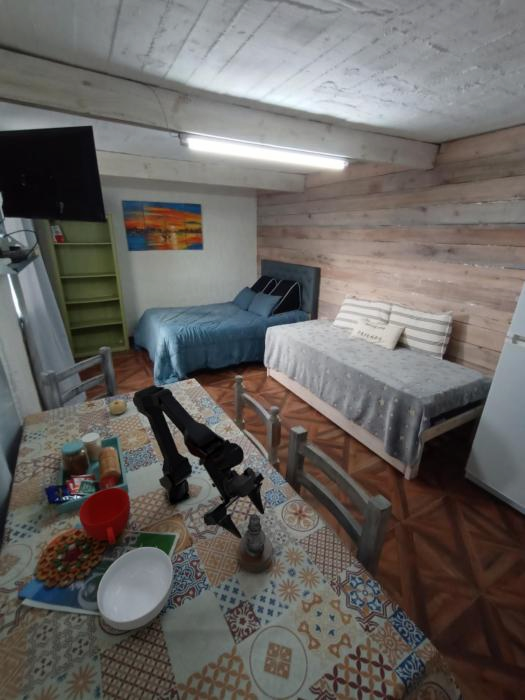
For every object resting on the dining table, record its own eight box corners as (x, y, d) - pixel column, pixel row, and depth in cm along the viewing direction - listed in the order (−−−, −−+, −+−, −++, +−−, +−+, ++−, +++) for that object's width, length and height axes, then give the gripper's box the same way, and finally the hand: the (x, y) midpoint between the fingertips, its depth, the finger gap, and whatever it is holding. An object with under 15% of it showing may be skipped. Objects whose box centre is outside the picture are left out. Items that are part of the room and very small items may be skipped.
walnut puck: (249, 580, 80) (249, 571, 79) (233, 551, 87) (232, 542, 86) (278, 561, 85) (278, 552, 84) (260, 535, 92) (260, 527, 91)
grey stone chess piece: (258, 561, 81) (258, 528, 77) (239, 550, 84) (238, 517, 80) (269, 543, 86) (270, 511, 82) (251, 533, 89) (251, 501, 84)
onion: (107, 411, 153) (105, 398, 151) (124, 405, 158) (122, 393, 156) (113, 418, 148) (110, 405, 145) (130, 412, 153) (128, 399, 150)
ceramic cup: (89, 572, 82) (81, 545, 78) (84, 524, 95) (77, 499, 92) (141, 547, 88) (136, 521, 85) (129, 505, 102) (124, 481, 98)
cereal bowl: (177, 627, 71) (174, 607, 68) (96, 654, 66) (89, 633, 64) (174, 556, 86) (171, 538, 83) (108, 574, 82) (103, 555, 79)
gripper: (208, 488, 73) (245, 550, 71) (259, 447, 86) (291, 497, 84) (189, 497, 80) (221, 553, 78) (238, 457, 94) (267, 504, 92)
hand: (252, 525), depth 83 cm, fingers open, 9 cm apart
